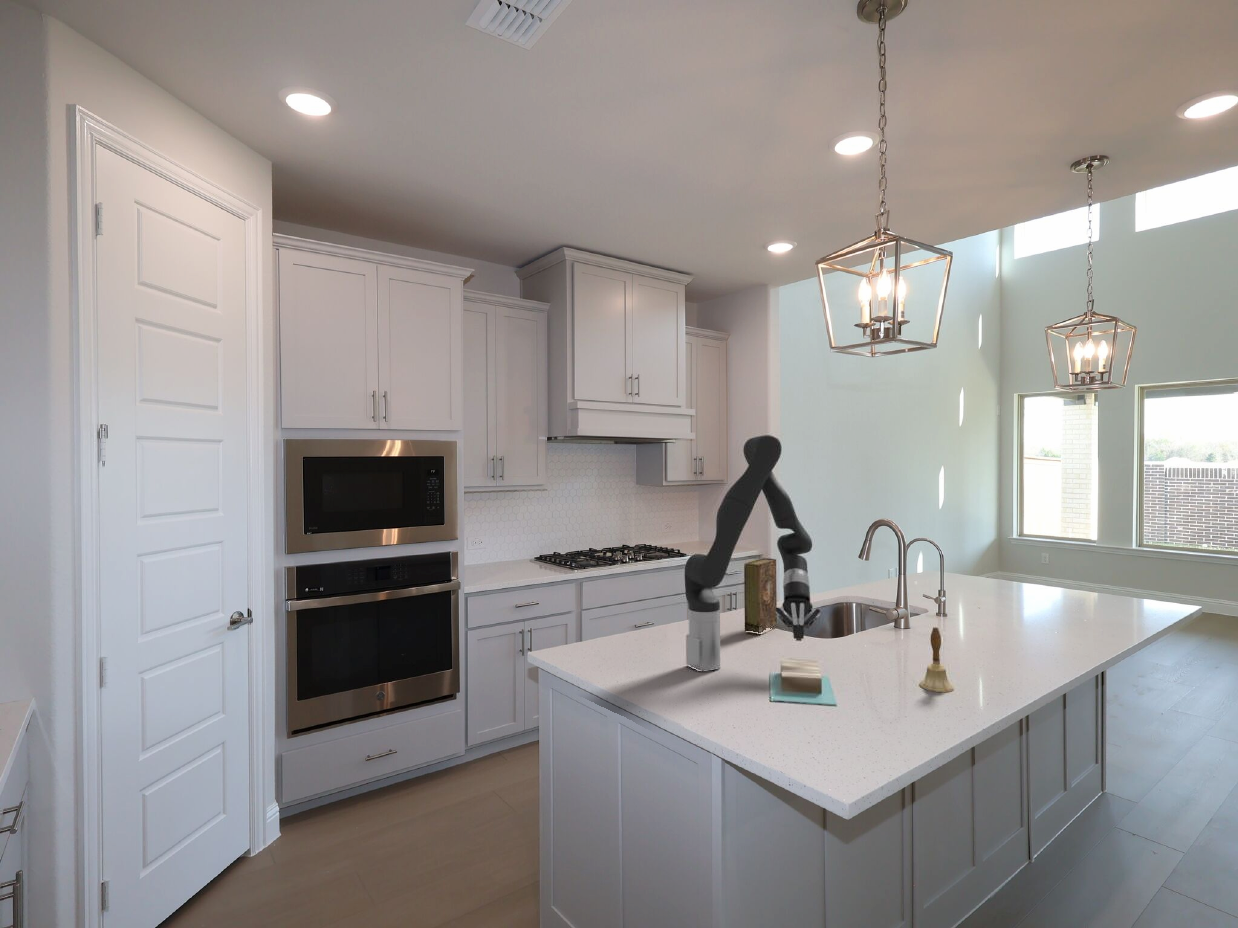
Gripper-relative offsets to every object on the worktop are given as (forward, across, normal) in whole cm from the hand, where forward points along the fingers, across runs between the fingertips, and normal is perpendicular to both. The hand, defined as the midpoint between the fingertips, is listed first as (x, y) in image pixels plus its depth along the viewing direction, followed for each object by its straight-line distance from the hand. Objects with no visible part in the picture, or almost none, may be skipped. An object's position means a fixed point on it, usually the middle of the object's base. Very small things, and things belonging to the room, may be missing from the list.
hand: (798, 639), depth 183 cm
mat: (+14, 0, +1) cm, 14 cm away
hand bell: (+8, +35, +7) cm, 37 cm away
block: (+4, 0, +8) cm, 9 cm away
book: (-29, -11, +45) cm, 55 cm away
